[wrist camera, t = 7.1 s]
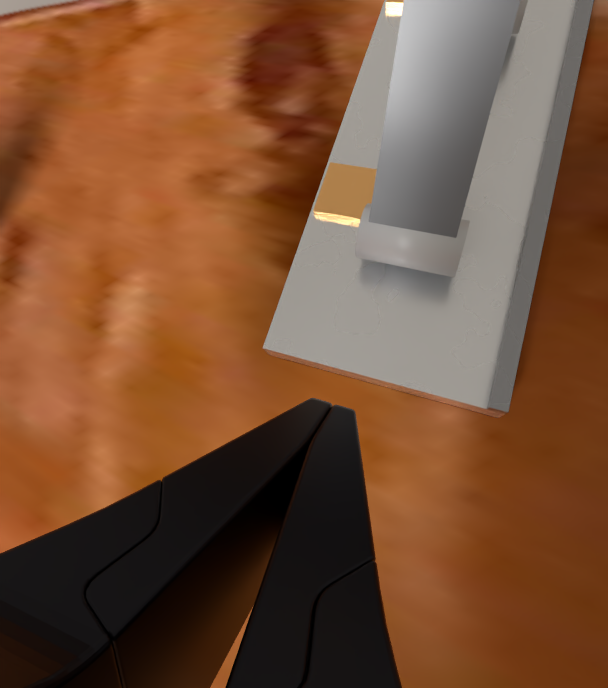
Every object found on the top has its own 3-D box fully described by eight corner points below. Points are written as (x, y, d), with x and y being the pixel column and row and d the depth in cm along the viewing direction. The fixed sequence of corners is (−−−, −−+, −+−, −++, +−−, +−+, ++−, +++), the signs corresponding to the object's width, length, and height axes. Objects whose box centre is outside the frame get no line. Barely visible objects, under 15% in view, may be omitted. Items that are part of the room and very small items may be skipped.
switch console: (498, 417, 16) (508, 412, 15) (269, 354, 18) (259, 345, 17) (586, 1, 20) (600, -31, 19) (394, -8, 23) (394, -38, 21)
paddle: (452, 285, 15) (636, -366, 8) (352, 265, 16) (440, -339, 9) (456, 266, 17) (612, -292, 10) (364, 248, 18) (448, -275, 11)
